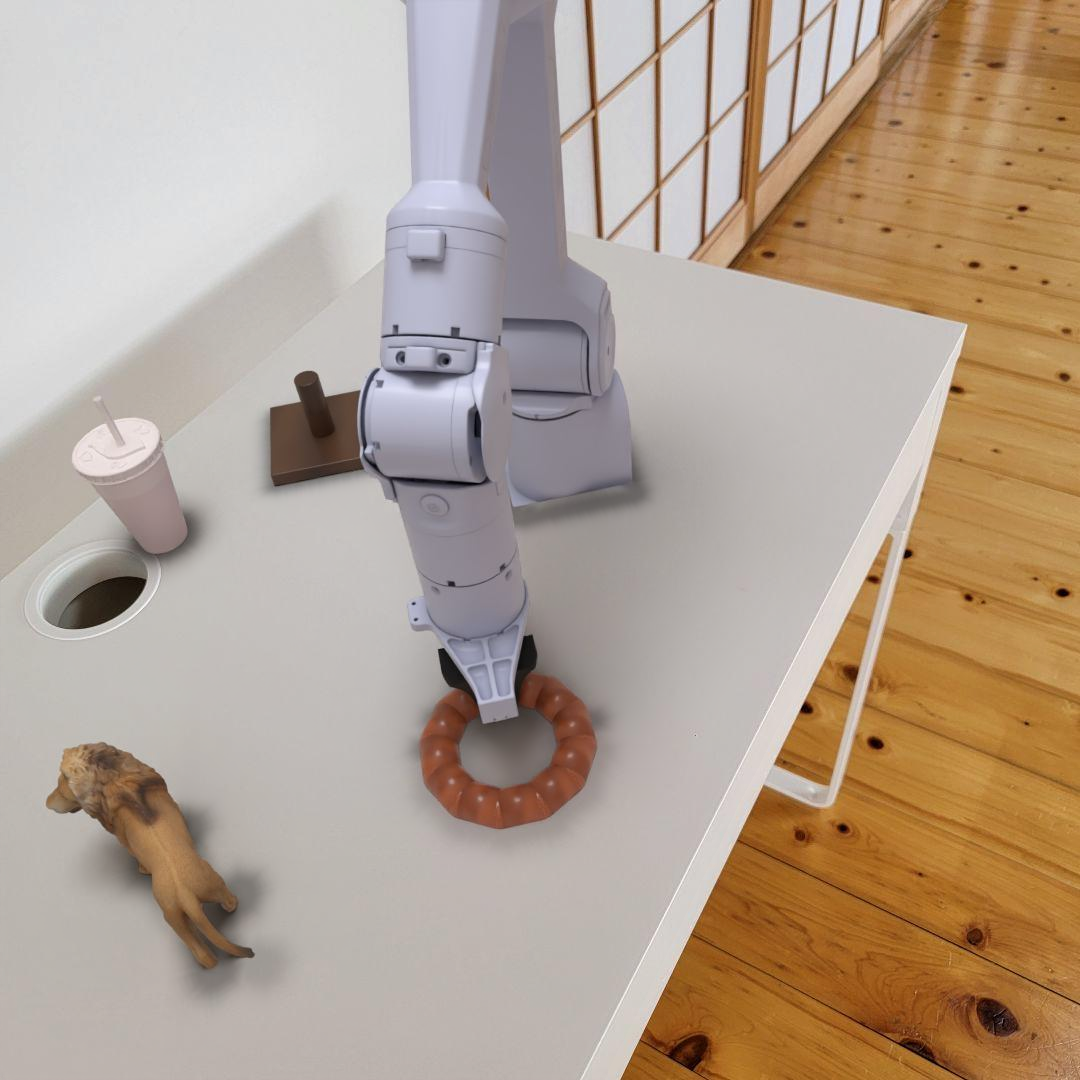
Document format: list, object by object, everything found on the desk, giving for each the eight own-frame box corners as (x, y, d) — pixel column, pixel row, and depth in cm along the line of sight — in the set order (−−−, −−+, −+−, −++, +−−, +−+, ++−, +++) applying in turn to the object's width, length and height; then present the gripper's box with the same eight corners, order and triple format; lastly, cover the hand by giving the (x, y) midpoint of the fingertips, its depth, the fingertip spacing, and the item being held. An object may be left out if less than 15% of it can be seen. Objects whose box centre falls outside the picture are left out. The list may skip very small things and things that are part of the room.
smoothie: (183, 570, 76) (109, 432, 66) (108, 562, 77) (24, 425, 67) (217, 510, 80) (152, 371, 70) (146, 504, 81) (72, 367, 71)
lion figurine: (85, 847, 61) (15, 773, 54) (157, 785, 63) (98, 706, 57) (232, 1004, 54) (171, 941, 47) (306, 927, 56) (259, 856, 50)
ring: (574, 668, 66) (572, 647, 65) (614, 813, 59) (612, 793, 57) (415, 703, 66) (408, 682, 64) (435, 853, 58) (427, 834, 57)
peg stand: (374, 398, 88) (357, 335, 83) (383, 464, 82) (365, 401, 77) (273, 417, 88) (250, 356, 83) (274, 486, 82) (249, 424, 77)
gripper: (381, 473, 59) (422, 616, 69) (406, 668, 49) (449, 801, 59) (498, 450, 59) (522, 595, 69) (545, 638, 50) (565, 775, 60)
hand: (496, 688), depth 64 cm, fingers closed on ring, 2 cm apart
